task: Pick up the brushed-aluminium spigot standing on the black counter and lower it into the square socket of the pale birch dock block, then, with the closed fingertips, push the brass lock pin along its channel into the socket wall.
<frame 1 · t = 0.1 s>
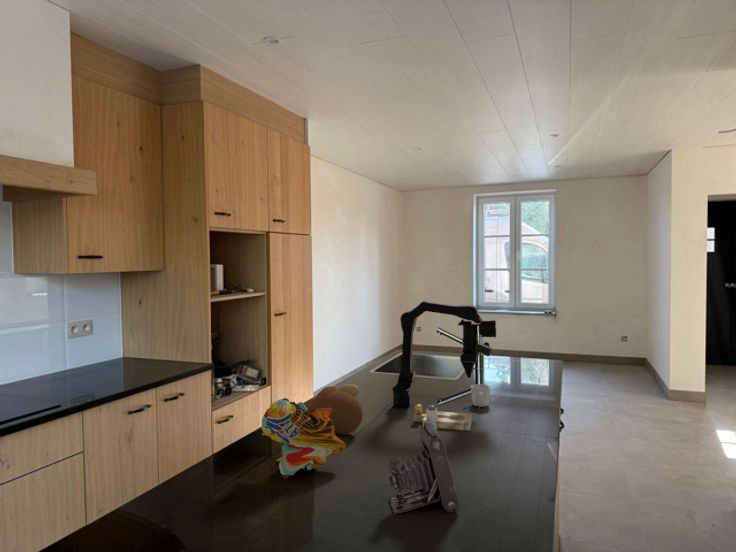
hand: (470, 375, 206), 15 cm above the countertop, tool pointing down, fingers open, 9 cm apart
spigot: (431, 431, 183), on the countertop
multicolored irregular chunky piece: (302, 469, 151), on the countertop
toy: (335, 433, 182), on the countertop
camera: (422, 507, 127), on the countertop
dock: (446, 423, 191), on the countertop
cup: (480, 406, 213), on the countertop
lock pin: (422, 413, 193), point 3 cm above the countertop, slide at 0.0 cm
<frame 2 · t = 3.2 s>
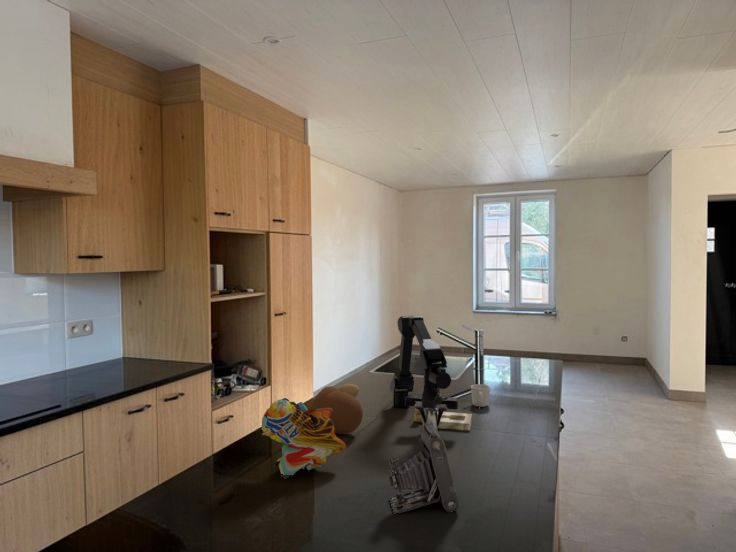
hand: (431, 425, 182), 2 cm above the countertop, tool pointing down, fingers closed on spigot, 4 cm apart
spigot: (431, 431, 183), on the countertop, touching gripper
everything else where it was.
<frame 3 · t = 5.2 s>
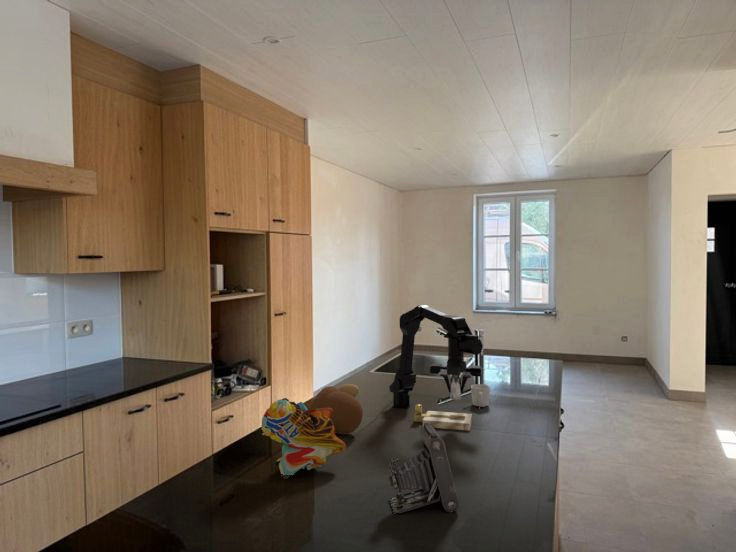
hand: (455, 392, 189), 12 cm above the countertop, tool pointing down, fingers closed on spigot, 4 cm apart
spigot: (455, 398, 189), point 10 cm above the countertop, touching gripper
everything else where it was.
when the fingers open (3 cm above the countertop, at t = 7.1 s): spigot drops 1 cm, resting in dock.
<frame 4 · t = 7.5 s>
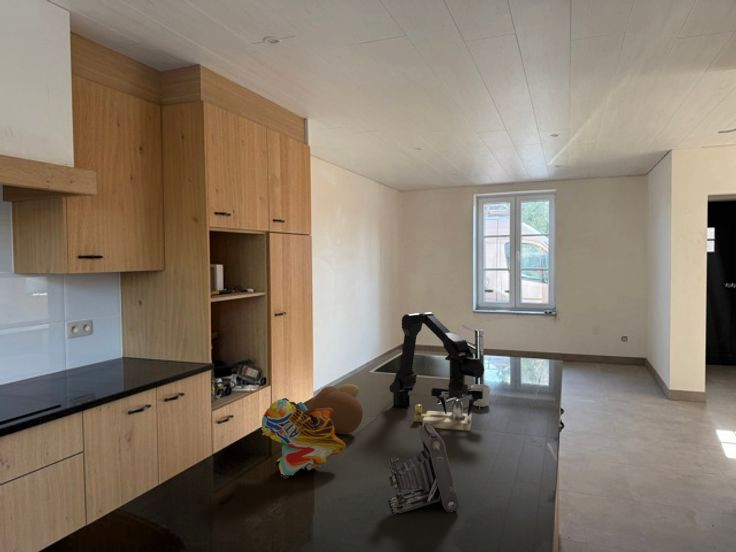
hand: (457, 415, 190), 3 cm above the countertop, tool pointing down, fingers open, 8 cm apart
spigot: (457, 424, 190), resting in dock
everything else where it was.
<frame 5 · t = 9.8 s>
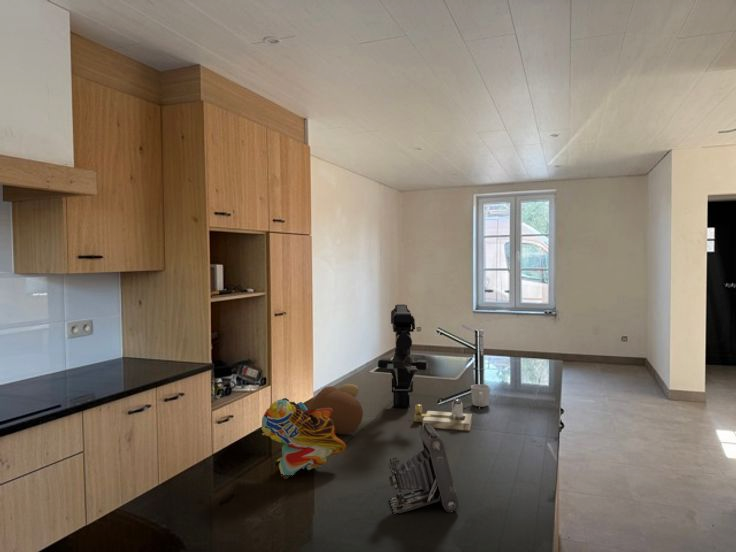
hand: (403, 386, 195), 13 cm above the countertop, tool pointing down, fingers open, 5 cm apart
nothing on the countertop moved.
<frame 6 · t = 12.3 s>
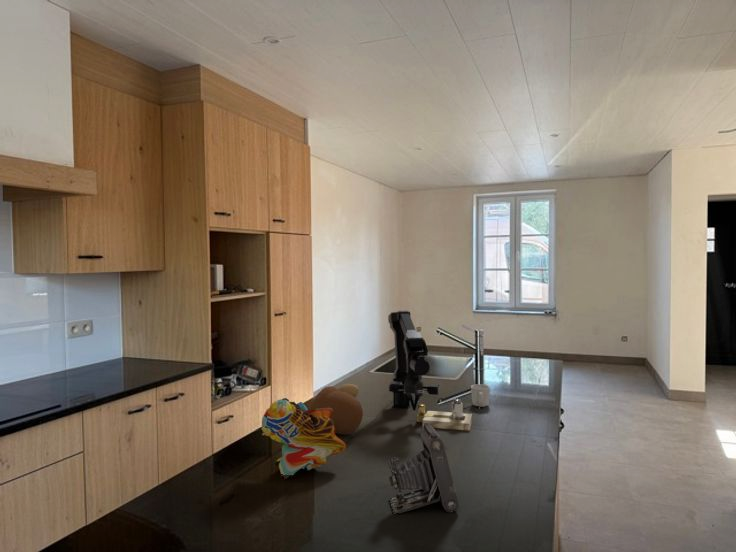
hand: (414, 410, 194), 4 cm above the countertop, tool pointing down, fingers closed
lock pin: (425, 413, 193), point 3 cm above the countertop, slide at 1.1 cm, touching gripper
everything else where it was.
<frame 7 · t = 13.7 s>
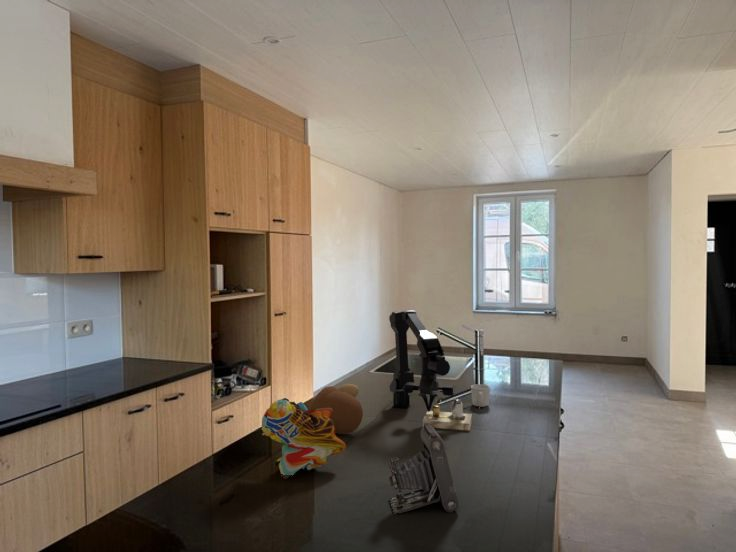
hand: (429, 411, 193), 4 cm above the countertop, tool pointing down, fingers closed
lock pin: (440, 414, 192), point 3 cm above the countertop, slide at 6.7 cm, touching gripper
everything else where it was.
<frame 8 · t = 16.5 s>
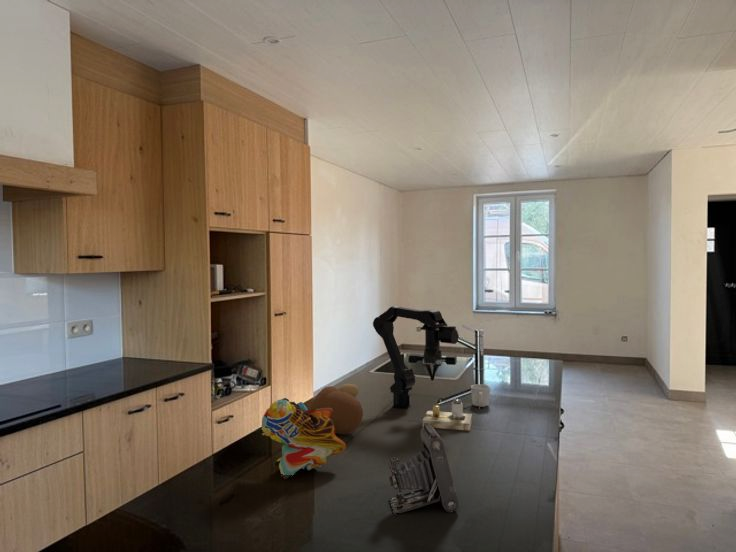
hand: (432, 380, 204), 13 cm above the countertop, tool pointing down, fingers closed
lock pin: (440, 414, 192), point 3 cm above the countertop, slide at 6.7 cm
everything else where it was.
at the end: spigot 0.0 cm from the target spot on the dock, point 0.0 cm above the dock's base; spigot tilted 0°; lock pin slide at 6.7 cm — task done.
